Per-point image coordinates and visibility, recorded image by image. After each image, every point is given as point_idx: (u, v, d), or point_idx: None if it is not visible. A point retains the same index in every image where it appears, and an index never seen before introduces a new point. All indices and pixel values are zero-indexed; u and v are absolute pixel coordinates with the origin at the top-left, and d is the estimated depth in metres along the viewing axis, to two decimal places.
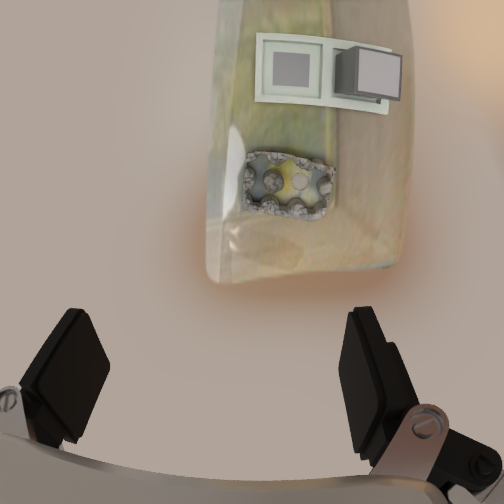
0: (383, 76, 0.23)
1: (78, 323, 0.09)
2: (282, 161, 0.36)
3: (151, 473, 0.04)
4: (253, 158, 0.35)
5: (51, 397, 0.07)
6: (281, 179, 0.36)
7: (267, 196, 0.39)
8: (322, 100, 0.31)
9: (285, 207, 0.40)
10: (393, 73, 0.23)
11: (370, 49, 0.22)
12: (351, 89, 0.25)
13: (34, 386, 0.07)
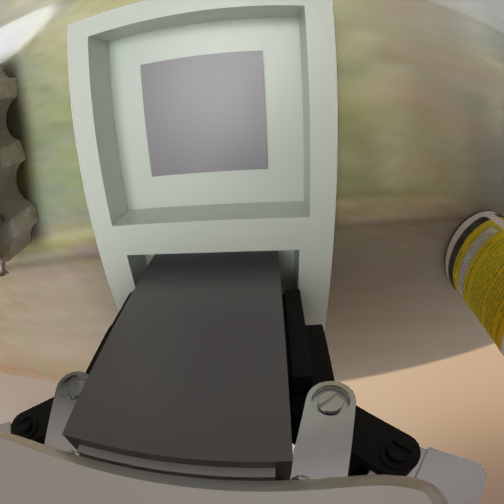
0: None
1: None
2: None
3: (151, 473, 0.04)
4: None
5: None
6: None
7: None
8: (108, 231, 0.10)
9: None
10: None
11: None
12: (88, 403, 0.06)
13: None
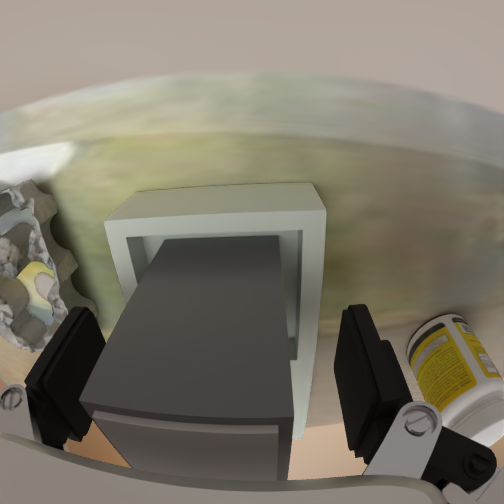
0: (188, 470, 0.07)
1: (83, 321, 0.09)
2: None
3: (151, 473, 0.04)
4: (16, 203, 0.12)
5: (56, 395, 0.07)
6: (14, 273, 0.13)
7: None
8: None
9: (2, 279, 0.16)
10: None
11: (285, 447, 0.06)
12: (104, 371, 0.06)
13: (40, 384, 0.07)
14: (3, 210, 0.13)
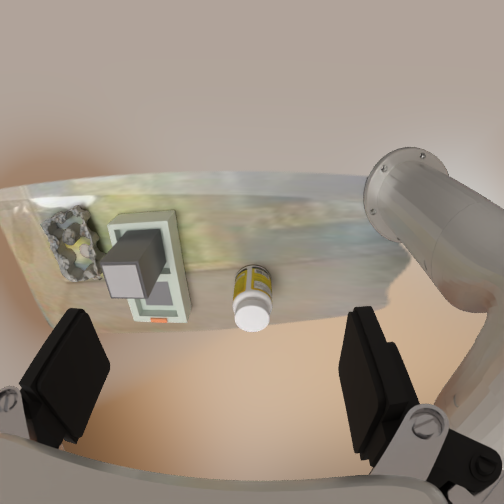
0: (121, 284, 0.31)
1: (78, 323, 0.09)
2: (86, 236, 0.38)
3: (151, 473, 0.04)
4: (75, 214, 0.36)
5: (51, 397, 0.07)
6: (73, 242, 0.38)
7: (63, 232, 0.40)
8: None
9: (63, 249, 0.41)
10: (128, 292, 0.32)
11: (140, 273, 0.31)
12: (106, 257, 0.31)
13: (34, 386, 0.07)
14: (67, 217, 0.37)
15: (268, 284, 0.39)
